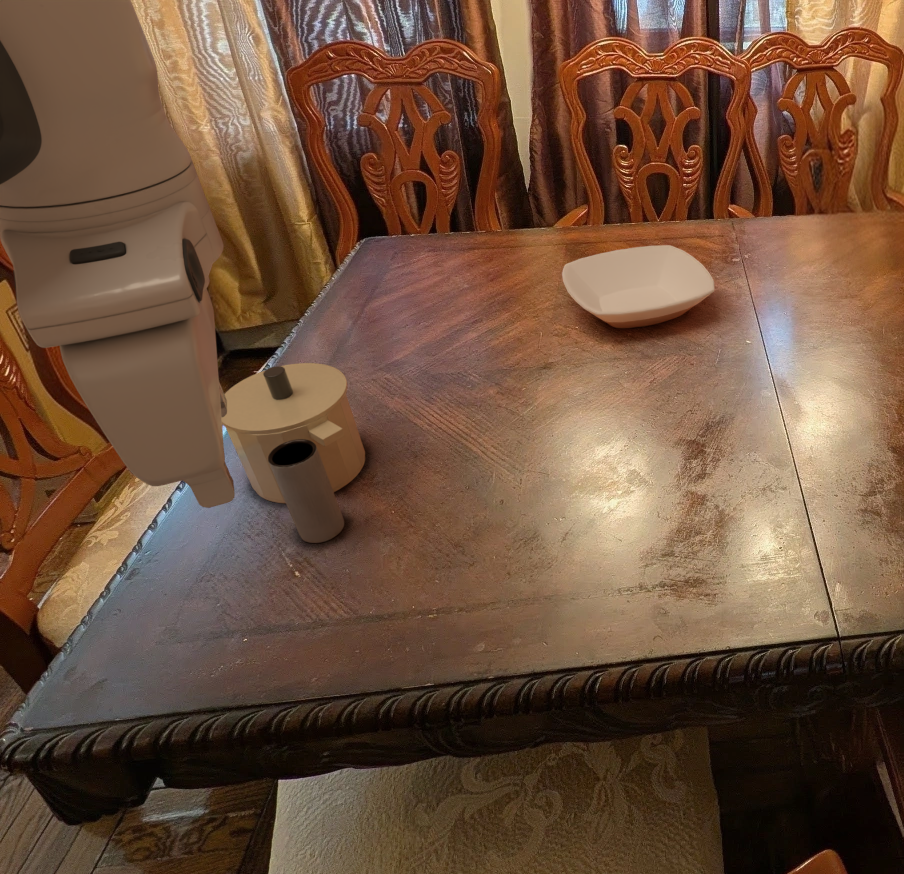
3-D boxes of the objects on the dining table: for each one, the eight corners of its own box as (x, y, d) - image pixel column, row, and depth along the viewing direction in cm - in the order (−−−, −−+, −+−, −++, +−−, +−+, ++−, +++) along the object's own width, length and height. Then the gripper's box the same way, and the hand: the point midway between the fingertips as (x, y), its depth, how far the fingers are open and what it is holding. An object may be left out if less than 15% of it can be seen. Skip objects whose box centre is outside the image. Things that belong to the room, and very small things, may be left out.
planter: (353, 520, 86) (326, 444, 80) (324, 548, 83) (292, 470, 77) (321, 510, 87) (291, 434, 81) (290, 537, 84) (256, 460, 78)
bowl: (731, 324, 119) (731, 292, 116) (591, 355, 113) (587, 321, 110) (678, 268, 135) (677, 238, 132) (553, 292, 129) (549, 261, 126)
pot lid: (262, 454, 81) (248, 421, 79) (196, 411, 88) (181, 379, 85) (373, 394, 90) (364, 362, 87) (305, 359, 96) (295, 329, 94)
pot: (305, 528, 85) (276, 458, 80) (220, 467, 94) (188, 400, 88) (401, 469, 93) (381, 401, 87) (314, 418, 102) (290, 353, 96)
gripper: (65, 184, 47) (161, 385, 55) (11, 333, 32) (153, 578, 40) (185, 166, 49) (260, 362, 57) (187, 298, 34) (288, 537, 42)
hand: (216, 452), depth 48 cm, fingers open, 8 cm apart
